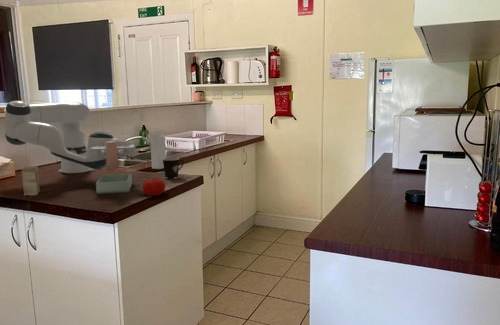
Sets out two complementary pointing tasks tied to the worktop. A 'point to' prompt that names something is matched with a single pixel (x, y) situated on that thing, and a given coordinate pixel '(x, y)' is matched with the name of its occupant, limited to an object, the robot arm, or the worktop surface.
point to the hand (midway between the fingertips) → (111, 153)
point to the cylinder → (111, 155)
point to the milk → (158, 150)
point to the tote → (114, 183)
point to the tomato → (153, 187)
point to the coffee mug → (171, 167)
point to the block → (30, 180)
